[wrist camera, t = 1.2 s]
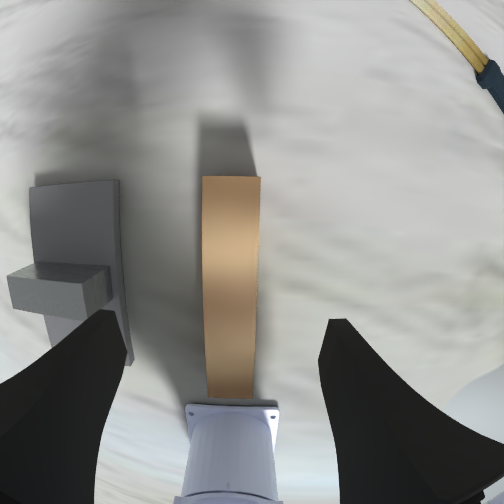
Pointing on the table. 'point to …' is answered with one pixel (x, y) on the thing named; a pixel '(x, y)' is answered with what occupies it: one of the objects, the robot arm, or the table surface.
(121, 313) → the stand
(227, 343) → the bar
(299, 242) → the table surface
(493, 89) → the knife
